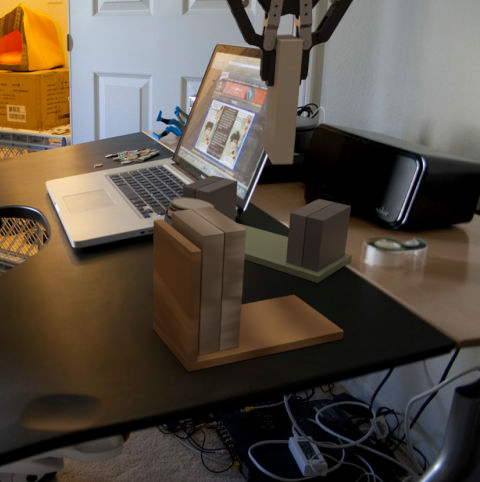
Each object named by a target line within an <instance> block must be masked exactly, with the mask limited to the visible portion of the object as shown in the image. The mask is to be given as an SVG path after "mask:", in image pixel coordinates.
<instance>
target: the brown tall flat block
mask: <svg viewBox="0 0 480 482" xmlns="http://www.w3.org/2000/svg"><path fill="white" fill-rule="evenodd" d="M302 49H303V40H302V39H299V38H297V37H296V35H293V34H292V33H291V34H288V33H287V34H277V36H276V42H275V49H274V50H275V51H276V64H275V78H274V86H266V87H267V88H266V103H265V118H264V133H263V134H264V135H263V150H264V152H265V154H266V156H267V157H268V160H269V161H270V162H271V164H272V165H293V164H294V155H295V141H296V130H297V119H298V108H299V107H298V106H299V96H300V95H299V94H300V86H299V85H300V73H301V61H302Z"/></svg>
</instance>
